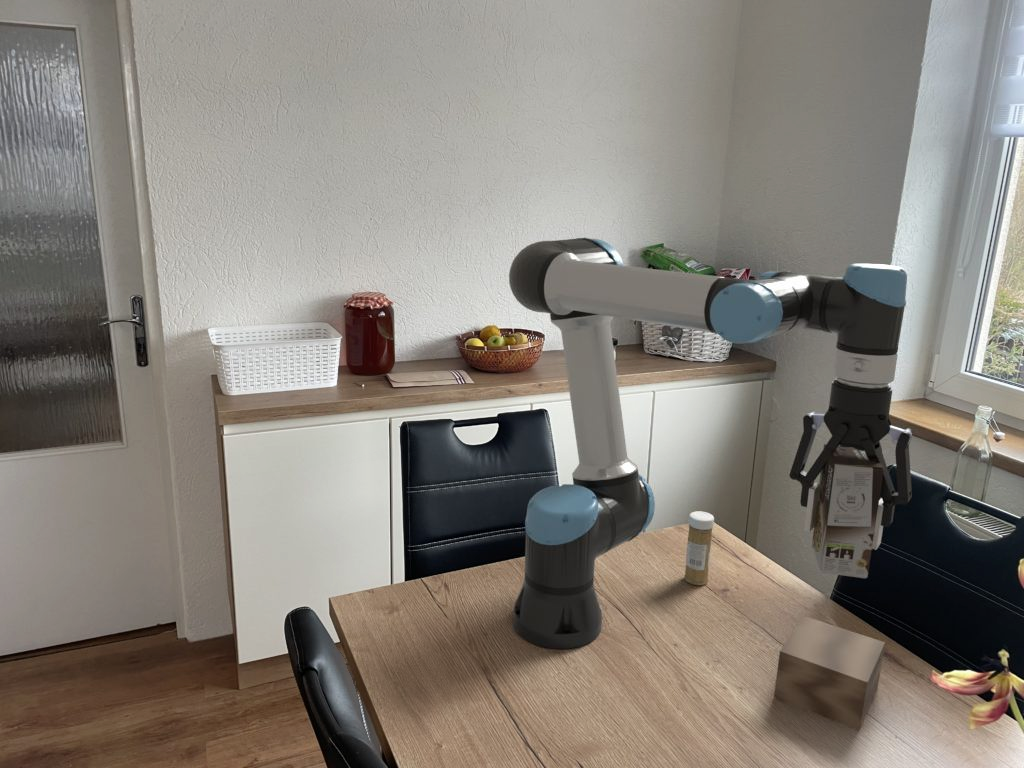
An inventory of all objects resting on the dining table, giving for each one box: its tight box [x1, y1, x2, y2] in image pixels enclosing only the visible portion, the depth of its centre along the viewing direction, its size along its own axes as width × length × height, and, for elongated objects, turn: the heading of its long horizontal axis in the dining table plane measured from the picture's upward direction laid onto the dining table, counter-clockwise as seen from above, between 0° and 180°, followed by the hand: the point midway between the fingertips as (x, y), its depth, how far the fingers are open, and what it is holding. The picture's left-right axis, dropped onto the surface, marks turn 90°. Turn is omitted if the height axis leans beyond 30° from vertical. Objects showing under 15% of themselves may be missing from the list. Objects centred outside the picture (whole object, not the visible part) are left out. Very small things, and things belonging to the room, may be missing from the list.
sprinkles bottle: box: [683, 510, 715, 586], centre depth 148 cm, size 5×5×13 cm
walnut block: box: [773, 615, 886, 731], centre depth 117 cm, size 12×12×8 cm
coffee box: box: [811, 443, 884, 579], centre depth 110 cm, size 9×6×16 cm
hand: (841, 536), depth 111 cm, fingers closed on coffee box, 8 cm apart
